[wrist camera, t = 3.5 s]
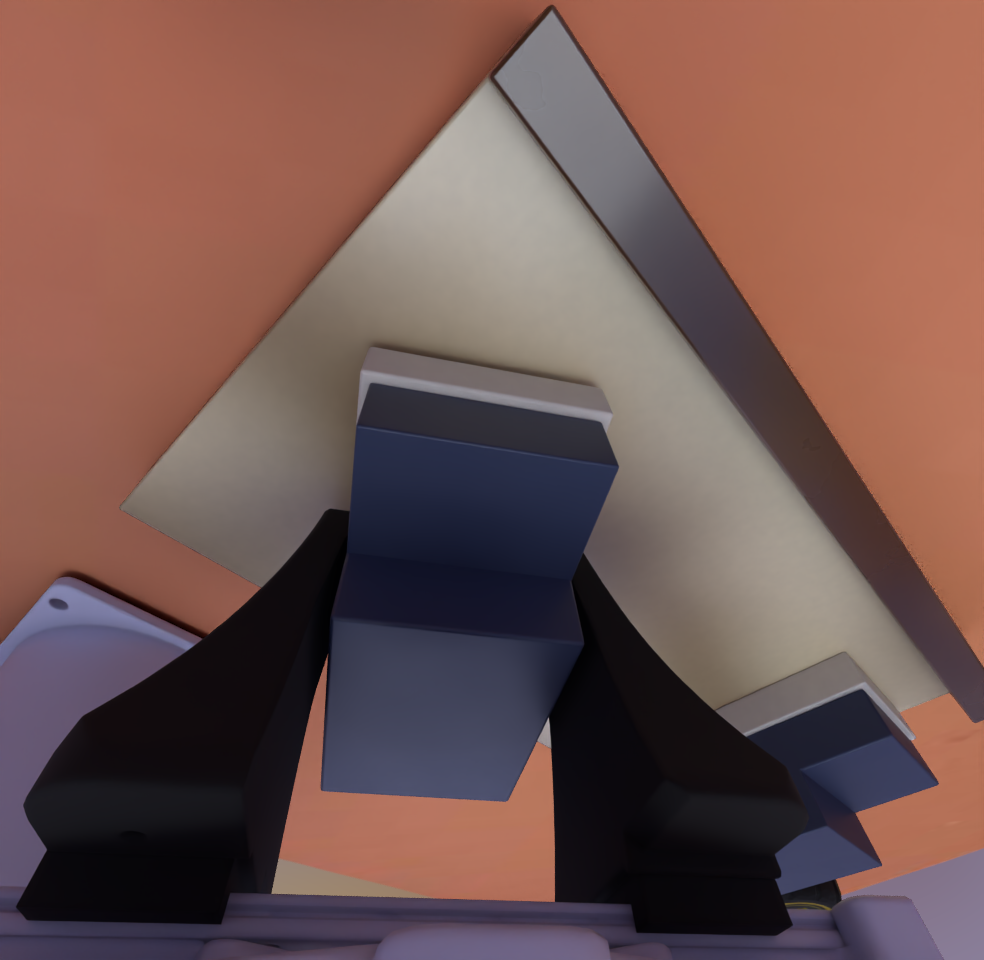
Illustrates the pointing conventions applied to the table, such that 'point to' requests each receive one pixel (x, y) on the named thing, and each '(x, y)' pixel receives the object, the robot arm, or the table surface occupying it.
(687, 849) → the robot arm
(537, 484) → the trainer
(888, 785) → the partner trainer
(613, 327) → the shoe shelf
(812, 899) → the tape measure
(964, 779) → the table surface
